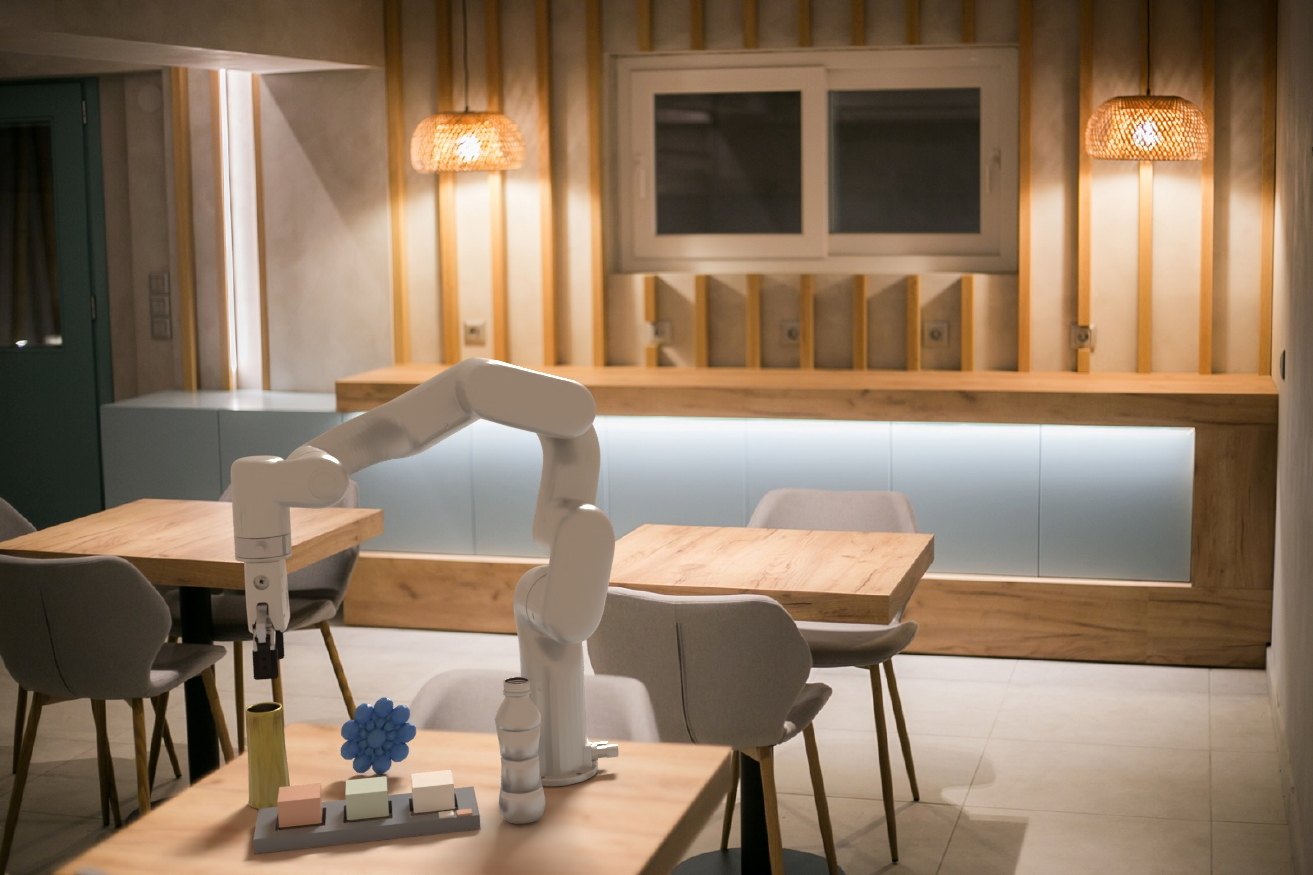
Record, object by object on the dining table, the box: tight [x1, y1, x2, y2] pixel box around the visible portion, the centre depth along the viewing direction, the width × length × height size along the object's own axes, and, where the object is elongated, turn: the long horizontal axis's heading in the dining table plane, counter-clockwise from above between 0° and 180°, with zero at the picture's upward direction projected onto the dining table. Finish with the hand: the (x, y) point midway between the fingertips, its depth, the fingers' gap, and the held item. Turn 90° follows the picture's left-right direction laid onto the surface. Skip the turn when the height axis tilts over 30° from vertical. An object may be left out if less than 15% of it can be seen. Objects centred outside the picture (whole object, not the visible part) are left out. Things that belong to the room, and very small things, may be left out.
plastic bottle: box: [494, 676, 547, 825], centre depth 198 cm, size 6×7×20 cm
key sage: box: [345, 776, 390, 821], centre depth 199 cm, size 6×6×4 cm
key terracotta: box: [277, 782, 323, 829], centre depth 197 cm, size 6×6×4 cm
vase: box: [245, 701, 291, 810], centre depth 208 cm, size 6×6×14 cm
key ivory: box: [410, 769, 456, 814], centre depth 201 cm, size 6×6×4 cm
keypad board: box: [252, 785, 481, 855], centre depth 199 cm, size 30×11×2 cm, turn 102°
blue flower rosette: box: [340, 696, 417, 775], centre depth 219 cm, size 12×7×12 cm, turn 93°
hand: (269, 668), depth 198 cm, fingers open, 9 cm apart
